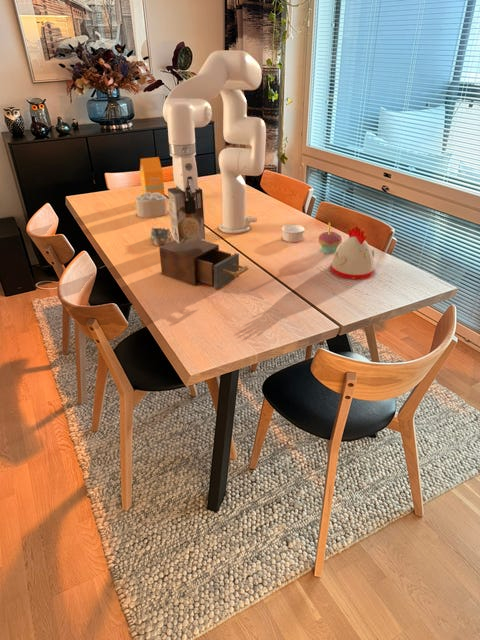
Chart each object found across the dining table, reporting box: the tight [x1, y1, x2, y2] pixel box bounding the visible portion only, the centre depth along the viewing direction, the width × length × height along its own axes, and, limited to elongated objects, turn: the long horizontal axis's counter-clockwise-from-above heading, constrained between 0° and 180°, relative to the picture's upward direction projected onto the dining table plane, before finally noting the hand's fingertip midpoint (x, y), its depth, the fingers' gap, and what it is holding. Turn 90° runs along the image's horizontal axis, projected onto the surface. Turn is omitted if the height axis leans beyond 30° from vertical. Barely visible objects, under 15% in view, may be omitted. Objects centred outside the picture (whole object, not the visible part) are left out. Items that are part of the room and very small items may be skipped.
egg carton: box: [150, 227, 172, 247], centre depth 177 cm, size 11×8×4 cm
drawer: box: [195, 249, 249, 290], centre depth 145 cm, size 19×11×8 cm, turn 54°
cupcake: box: [318, 221, 343, 255], centre depth 165 cm, size 9×8×12 cm
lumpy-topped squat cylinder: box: [135, 192, 169, 218], centre depth 203 cm, size 10×13×9 cm
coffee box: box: [167, 186, 206, 244], centre depth 143 cm, size 9×6×16 cm
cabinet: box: [158, 239, 220, 286], centre depth 151 cm, size 15×13×10 cm
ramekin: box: [281, 224, 305, 243], centre depth 178 cm, size 9×9×4 cm
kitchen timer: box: [330, 226, 375, 280], centre depth 151 cm, size 14×14×15 cm
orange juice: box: [139, 156, 166, 197], centre depth 216 cm, size 8×9×20 cm
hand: (186, 209), depth 142 cm, fingers closed on coffee box, 6 cm apart
